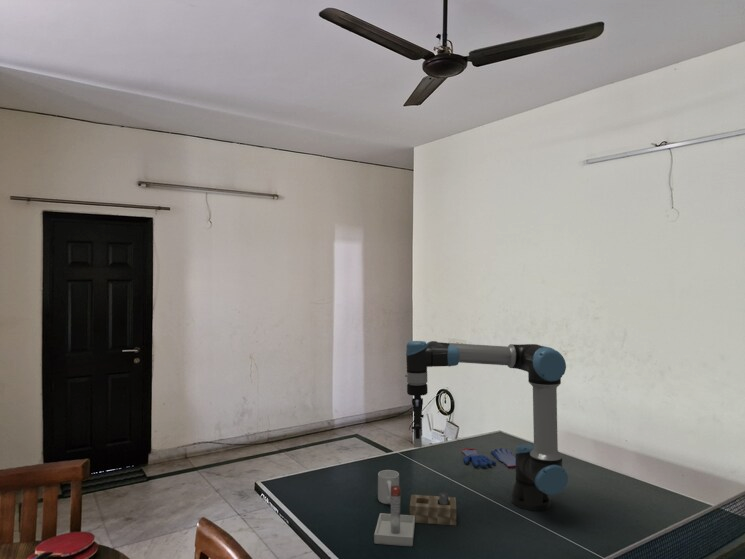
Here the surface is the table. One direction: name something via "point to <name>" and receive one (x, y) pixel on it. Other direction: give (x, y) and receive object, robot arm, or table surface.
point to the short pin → (443, 498)
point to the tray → (402, 538)
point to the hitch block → (433, 510)
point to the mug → (386, 485)
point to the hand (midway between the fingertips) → (418, 441)
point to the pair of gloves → (484, 461)
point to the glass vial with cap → (395, 509)
